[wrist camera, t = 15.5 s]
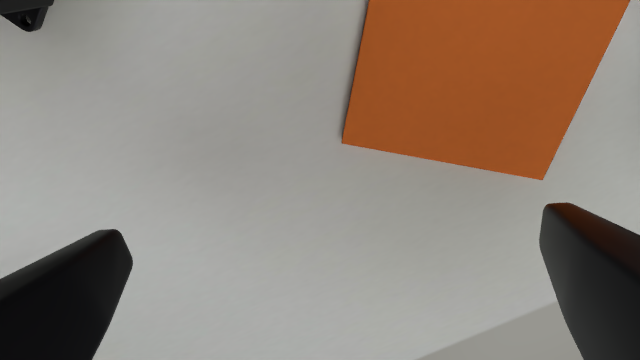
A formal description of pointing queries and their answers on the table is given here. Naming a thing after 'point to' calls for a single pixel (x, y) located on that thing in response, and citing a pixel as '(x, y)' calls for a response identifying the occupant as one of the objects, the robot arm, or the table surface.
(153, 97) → the table surface
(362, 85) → the rag
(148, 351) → the table surface
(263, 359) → the table surface
